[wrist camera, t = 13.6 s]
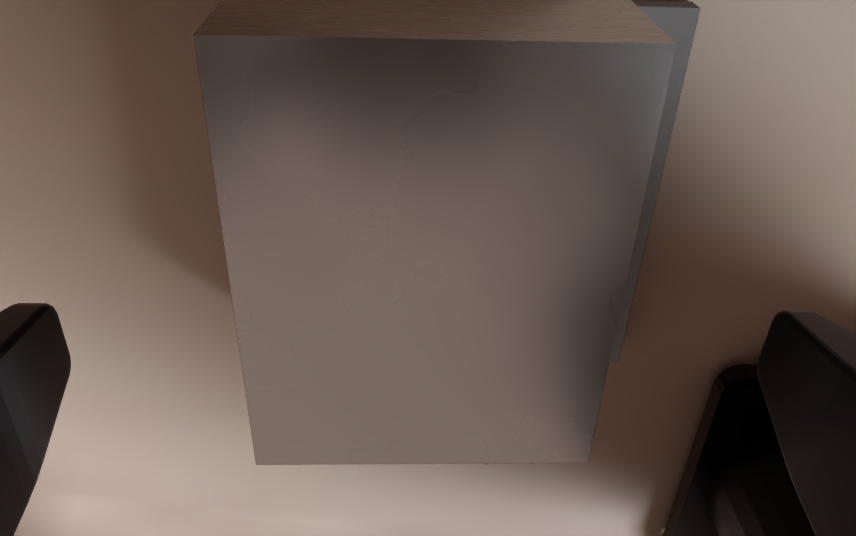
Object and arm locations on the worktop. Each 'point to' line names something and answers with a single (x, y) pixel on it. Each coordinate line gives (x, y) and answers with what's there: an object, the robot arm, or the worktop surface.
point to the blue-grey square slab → (680, 28)
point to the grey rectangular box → (429, 218)
